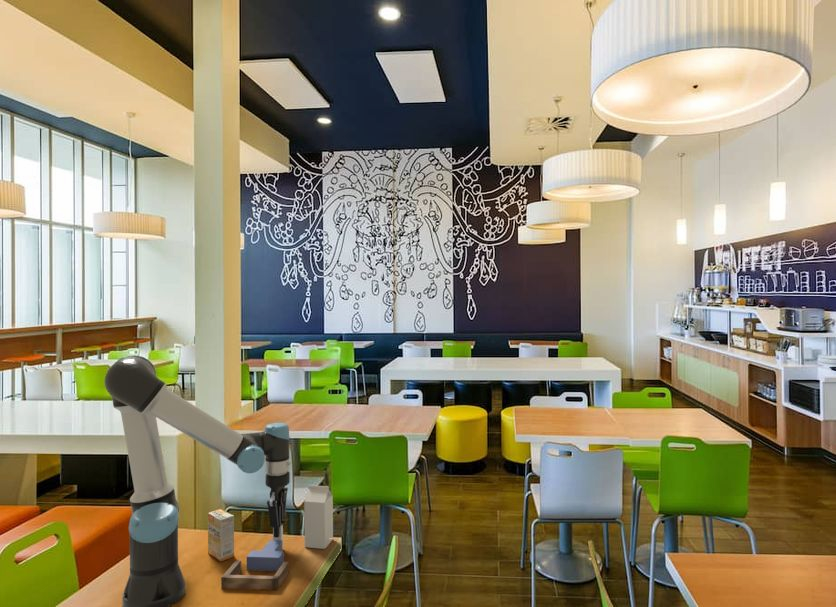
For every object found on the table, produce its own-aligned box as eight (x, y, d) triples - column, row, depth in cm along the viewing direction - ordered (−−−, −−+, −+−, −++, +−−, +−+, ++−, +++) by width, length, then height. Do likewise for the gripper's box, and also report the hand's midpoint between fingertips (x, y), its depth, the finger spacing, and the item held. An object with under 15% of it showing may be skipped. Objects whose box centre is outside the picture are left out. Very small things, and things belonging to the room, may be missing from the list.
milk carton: (325, 549, 165) (324, 490, 165) (304, 547, 166) (303, 489, 166) (333, 539, 171) (332, 482, 172) (313, 537, 173) (312, 481, 173)
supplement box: (207, 554, 162) (206, 512, 162) (221, 548, 166) (221, 508, 166) (220, 562, 157) (220, 519, 157) (234, 556, 161) (234, 514, 161)
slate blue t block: (260, 552, 163) (260, 539, 163) (291, 553, 162) (291, 540, 162) (246, 570, 152) (246, 556, 152) (279, 571, 151) (279, 557, 151)
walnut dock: (221, 588, 142) (221, 577, 142) (236, 570, 152) (236, 560, 152) (277, 590, 141) (277, 579, 141) (288, 572, 151) (288, 561, 151)
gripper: (282, 479, 158) (282, 555, 158) (295, 466, 171) (295, 536, 171) (258, 478, 159) (258, 555, 159) (273, 465, 172) (273, 536, 172)
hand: (278, 545), depth 165 cm, fingers closed
